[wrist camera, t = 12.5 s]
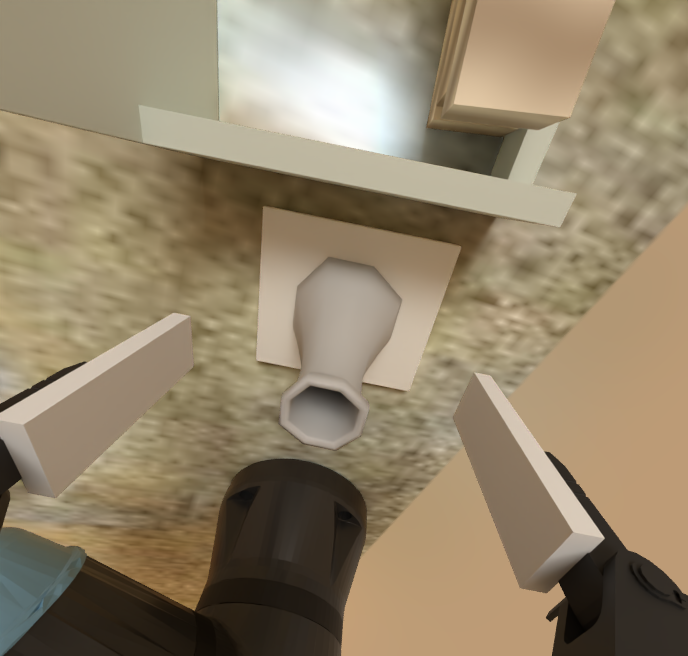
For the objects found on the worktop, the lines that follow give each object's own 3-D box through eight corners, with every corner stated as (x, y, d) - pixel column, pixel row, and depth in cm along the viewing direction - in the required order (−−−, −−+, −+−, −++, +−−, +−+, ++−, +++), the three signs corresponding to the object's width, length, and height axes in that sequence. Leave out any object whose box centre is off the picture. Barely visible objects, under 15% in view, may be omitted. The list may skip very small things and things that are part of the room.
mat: (407, 384, 22) (409, 391, 21) (260, 354, 22) (256, 360, 21) (457, 244, 17) (461, 246, 16) (267, 206, 17) (263, 206, 16)
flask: (323, 235, 17) (266, 280, 8) (421, 293, 18) (475, 394, 9) (277, 327, 20) (197, 436, 11) (363, 372, 21) (358, 507, 12)
